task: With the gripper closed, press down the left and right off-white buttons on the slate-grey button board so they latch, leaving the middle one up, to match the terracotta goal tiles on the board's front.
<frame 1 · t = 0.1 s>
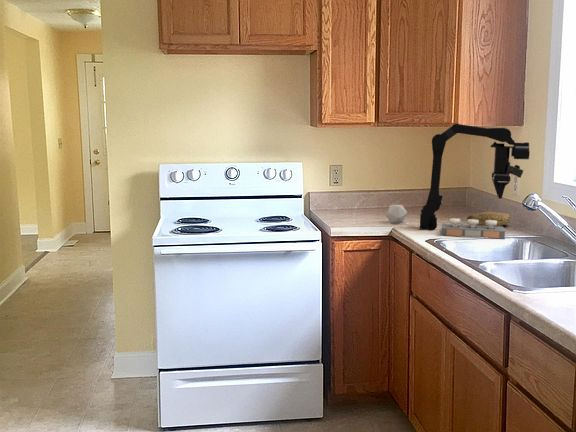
hand: (499, 197, 269), 15 cm above the worktop, fingers open, 9 cm apart
sponge: (489, 227, 286), on the worktop
button left: (454, 224, 266), point 4 cm above the worktop, slide at 0.0 cm
die: (396, 223, 292), on the worktop
button middle: (472, 224, 265), point 4 cm above the worktop, slide at 0.0 cm
button right: (490, 225, 263), point 4 cm above the worktop, slide at 0.0 cm
board: (472, 234, 265), on the worktop
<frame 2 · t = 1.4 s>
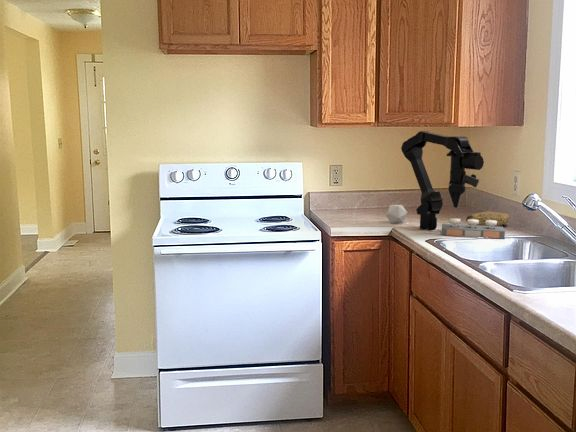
hand: (455, 206, 265), 11 cm above the worktop, fingers open, 4 cm apart
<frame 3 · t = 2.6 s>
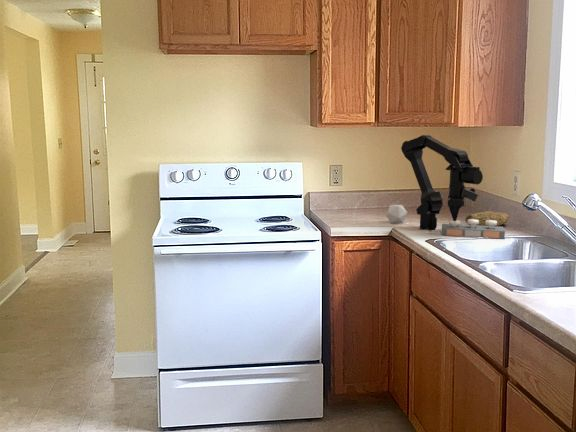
hand: (454, 220, 266), 5 cm above the worktop, fingers closed, pressing on button left
button left: (454, 225, 267), point 3 cm above the worktop, slide at 0.6 cm, touching gripper
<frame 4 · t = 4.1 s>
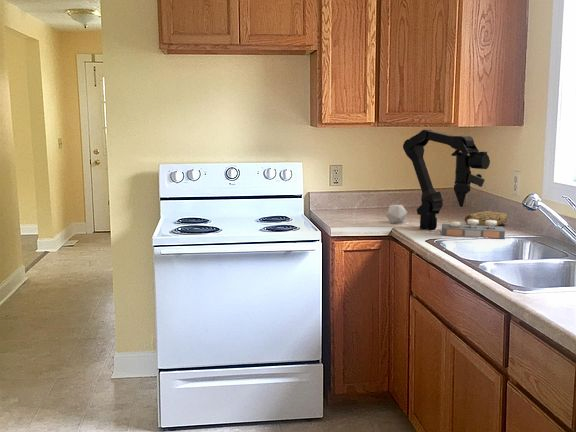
hand: (461, 206, 265), 11 cm above the worktop, fingers closed
button left: (454, 227, 267), point 3 cm above the worktop, slide at 1.3 cm
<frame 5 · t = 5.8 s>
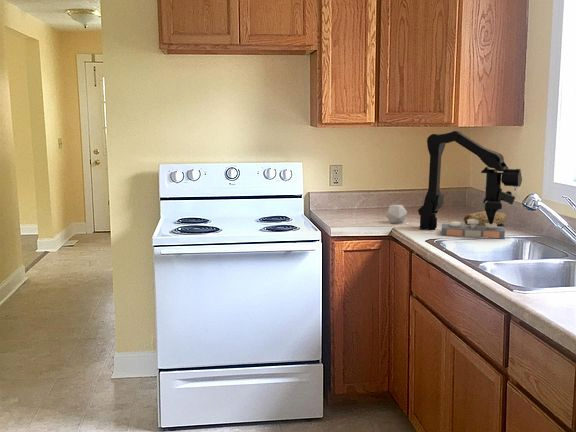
hand: (490, 223, 263), 5 cm above the worktop, fingers closed, pressing on button right
button right: (490, 228, 263), point 3 cm above the worktop, slide at 1.2 cm, touching gripper
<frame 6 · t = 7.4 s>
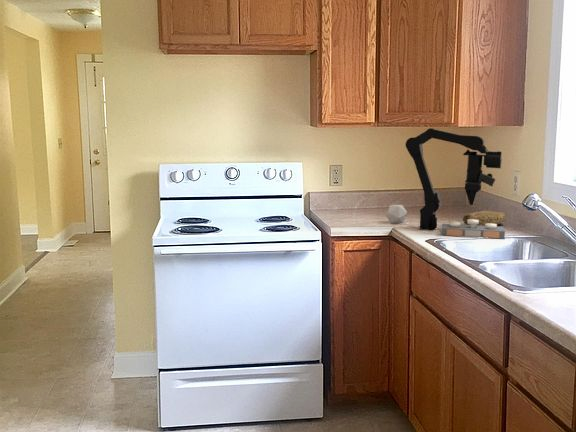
hand: (471, 204, 270), 11 cm above the worktop, fingers closed
button right: (490, 229, 263), point 3 cm above the worktop, slide at 1.3 cm
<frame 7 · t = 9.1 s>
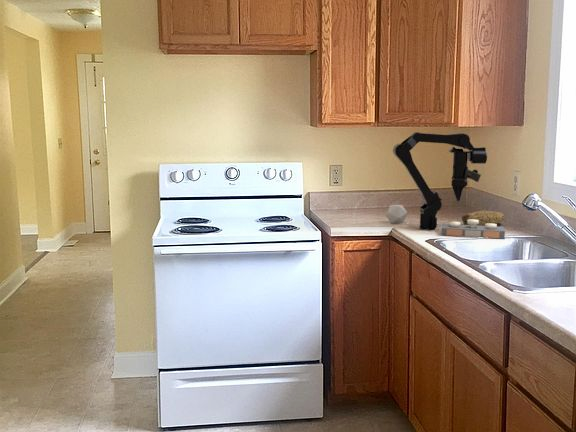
hand: (458, 200, 276), 12 cm above the worktop, fingers closed
at the end: button left slide at 1.3 cm; button right slide at 1.3 cm; button middle slide at 0.0 cm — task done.
